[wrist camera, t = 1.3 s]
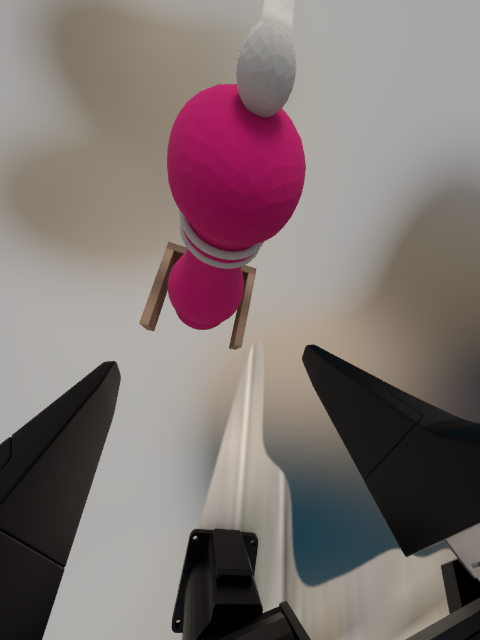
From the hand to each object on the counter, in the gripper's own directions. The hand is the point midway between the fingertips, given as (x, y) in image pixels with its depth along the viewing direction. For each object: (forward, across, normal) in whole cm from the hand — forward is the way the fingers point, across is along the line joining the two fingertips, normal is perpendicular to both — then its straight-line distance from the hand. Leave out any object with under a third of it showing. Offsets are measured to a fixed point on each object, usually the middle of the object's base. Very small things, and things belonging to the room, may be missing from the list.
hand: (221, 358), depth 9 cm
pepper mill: (+14, 0, +4) cm, 15 cm away
